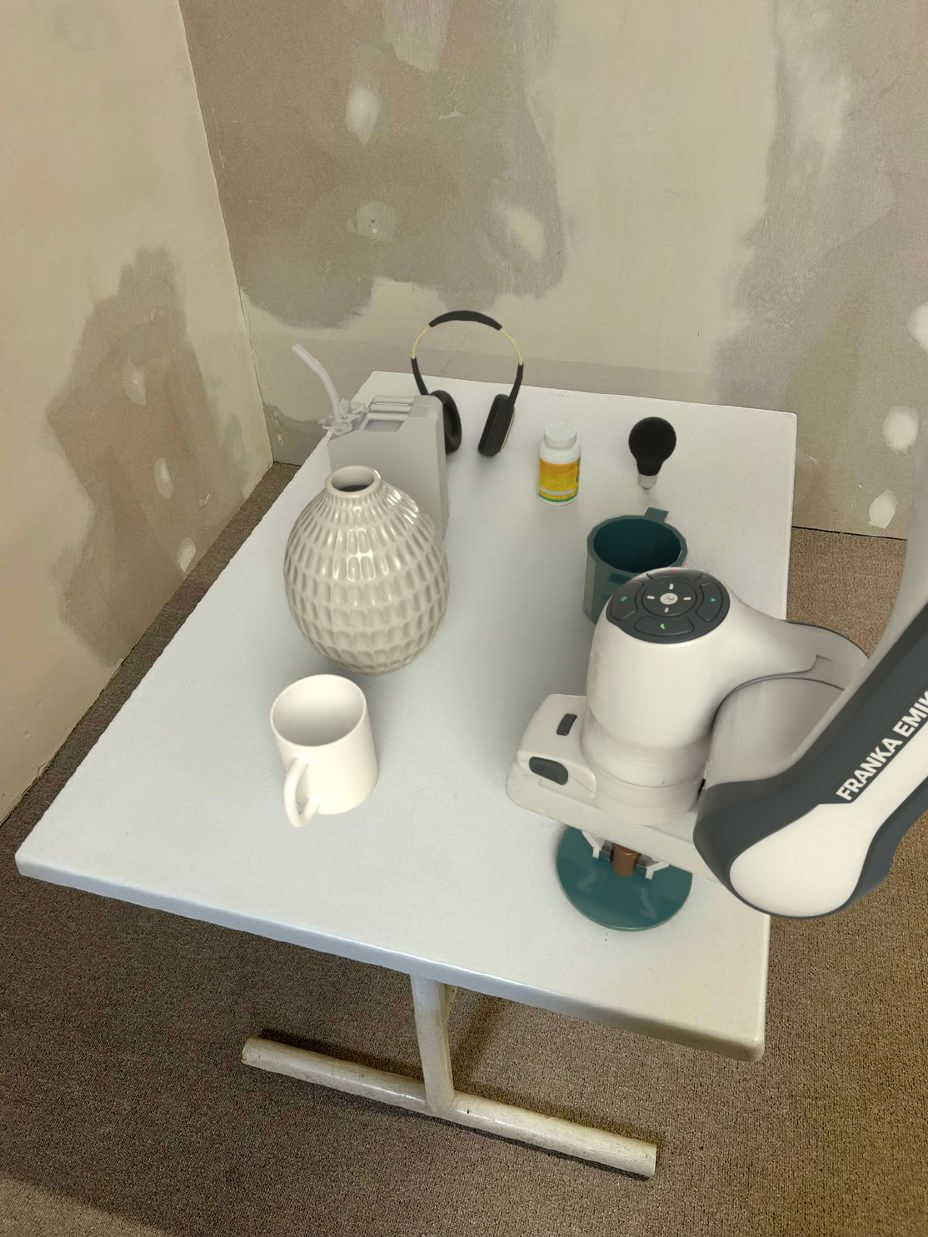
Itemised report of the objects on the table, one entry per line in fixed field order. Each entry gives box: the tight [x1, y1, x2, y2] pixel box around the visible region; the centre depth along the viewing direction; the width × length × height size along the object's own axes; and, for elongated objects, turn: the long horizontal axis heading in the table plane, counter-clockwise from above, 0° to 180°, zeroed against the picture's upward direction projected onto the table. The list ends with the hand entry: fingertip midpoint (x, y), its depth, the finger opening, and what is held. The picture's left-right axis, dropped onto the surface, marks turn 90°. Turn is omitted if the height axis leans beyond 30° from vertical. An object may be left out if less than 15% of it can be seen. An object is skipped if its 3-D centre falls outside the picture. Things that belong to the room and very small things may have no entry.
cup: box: [269, 673, 379, 829], centre depth 76 cm, size 8×12×10 cm
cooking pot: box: [581, 506, 689, 625], centre depth 94 cm, size 10×16×8 cm, turn 154°
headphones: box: [410, 309, 525, 458], centre depth 113 cm, size 9×15×20 cm, turn 79°
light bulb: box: [627, 416, 678, 490], centre depth 109 cm, size 6×6×10 cm
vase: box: [282, 465, 451, 676], centre depth 85 cm, size 16×16×22 cm
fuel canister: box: [289, 341, 450, 541], centre depth 100 cm, size 15×5×25 cm, turn 82°
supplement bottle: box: [536, 421, 582, 507], centre depth 109 cm, size 5×5×10 cm
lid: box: [555, 826, 694, 933], centre depth 71 cm, size 11×11×5 cm
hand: (624, 861), depth 72 cm, fingers closed on lid, 2 cm apart
